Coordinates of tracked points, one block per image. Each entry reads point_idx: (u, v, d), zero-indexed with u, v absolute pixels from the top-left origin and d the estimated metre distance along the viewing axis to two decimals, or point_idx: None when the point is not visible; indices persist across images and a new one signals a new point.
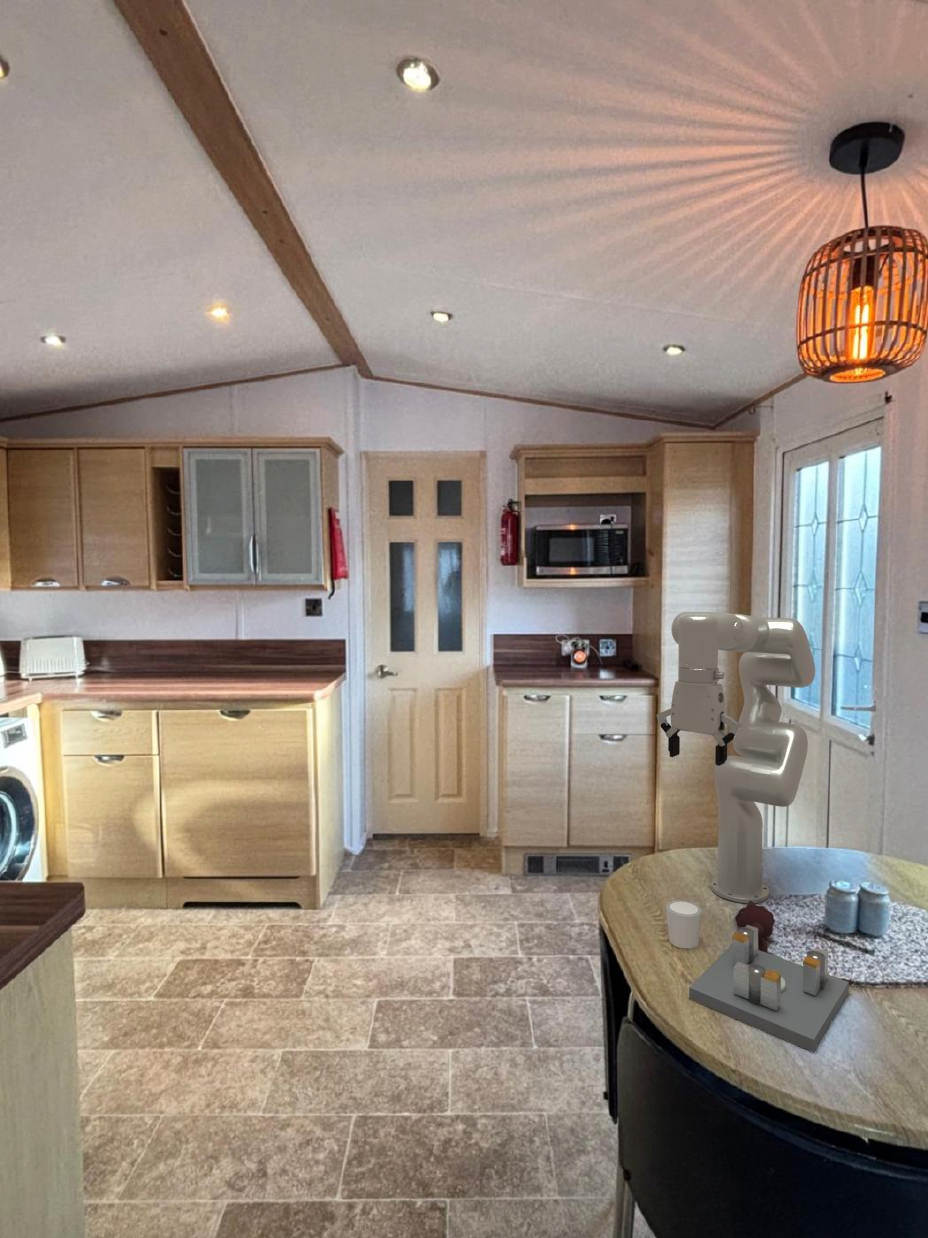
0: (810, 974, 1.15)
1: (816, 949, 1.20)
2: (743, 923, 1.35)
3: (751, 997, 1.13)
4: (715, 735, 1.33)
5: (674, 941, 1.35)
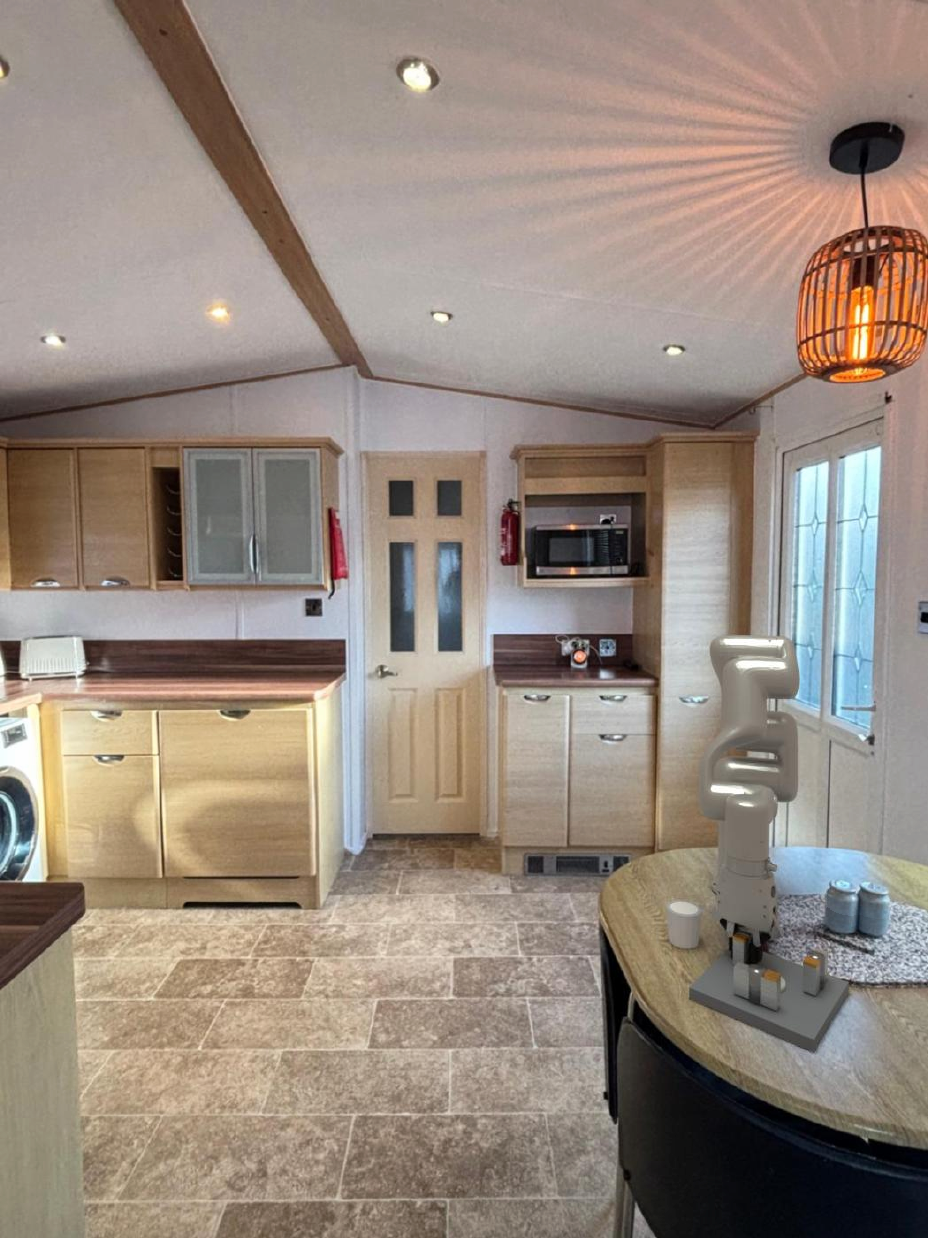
0: (810, 974, 1.15)
1: (816, 949, 1.20)
2: None
3: (751, 997, 1.13)
4: (755, 933, 1.23)
5: (674, 941, 1.35)
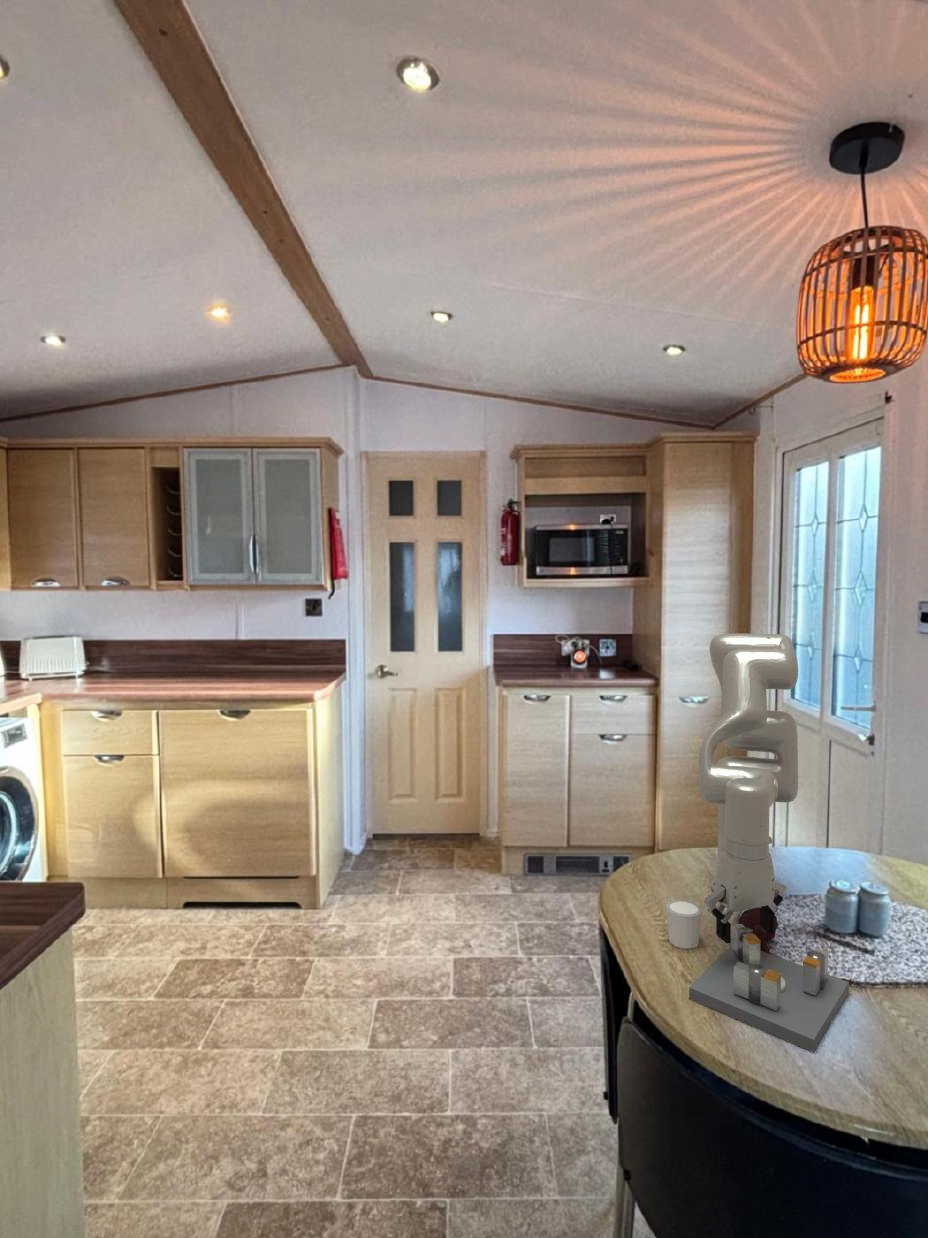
0: (810, 974, 1.15)
1: (816, 949, 1.20)
2: (746, 925, 1.34)
3: (751, 997, 1.13)
4: (770, 904, 1.26)
5: (674, 941, 1.35)
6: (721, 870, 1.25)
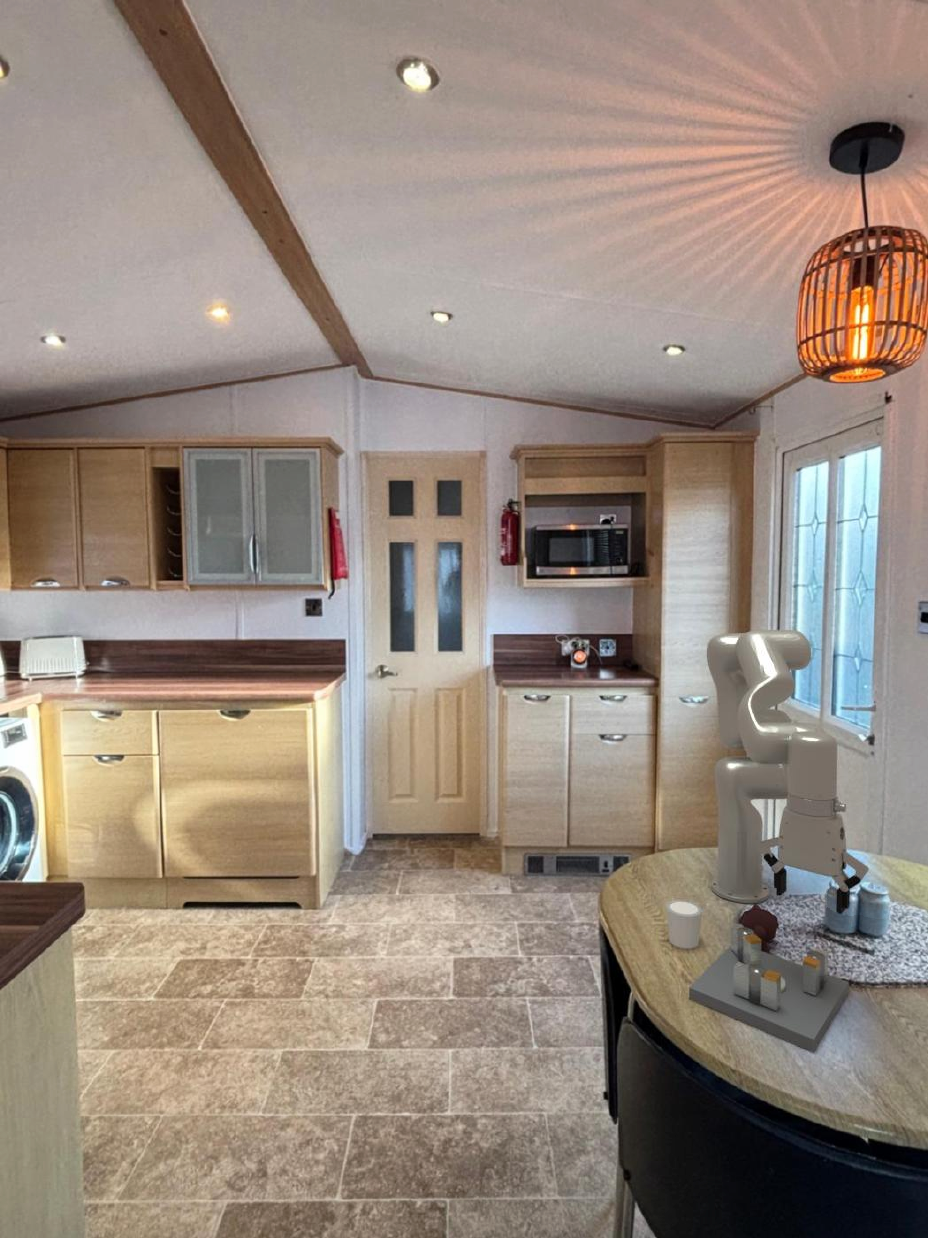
0: (810, 974, 1.15)
1: (816, 949, 1.20)
2: (746, 926, 1.34)
3: (751, 997, 1.13)
4: (836, 878, 1.13)
5: (674, 941, 1.35)
6: None
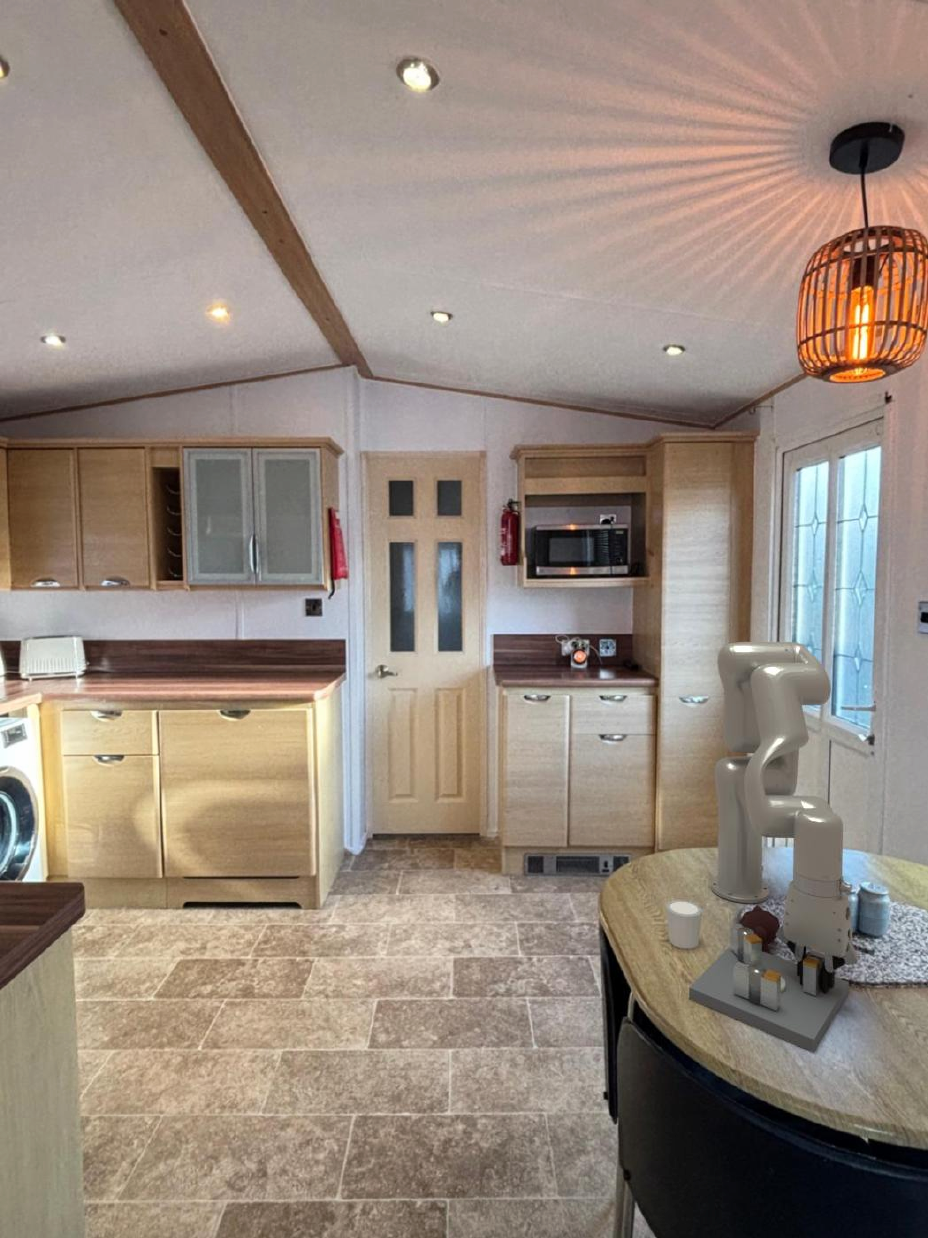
0: (810, 974, 1.15)
1: None
2: (747, 927, 1.34)
3: (751, 997, 1.13)
4: (828, 958, 1.15)
5: (674, 941, 1.35)
6: None
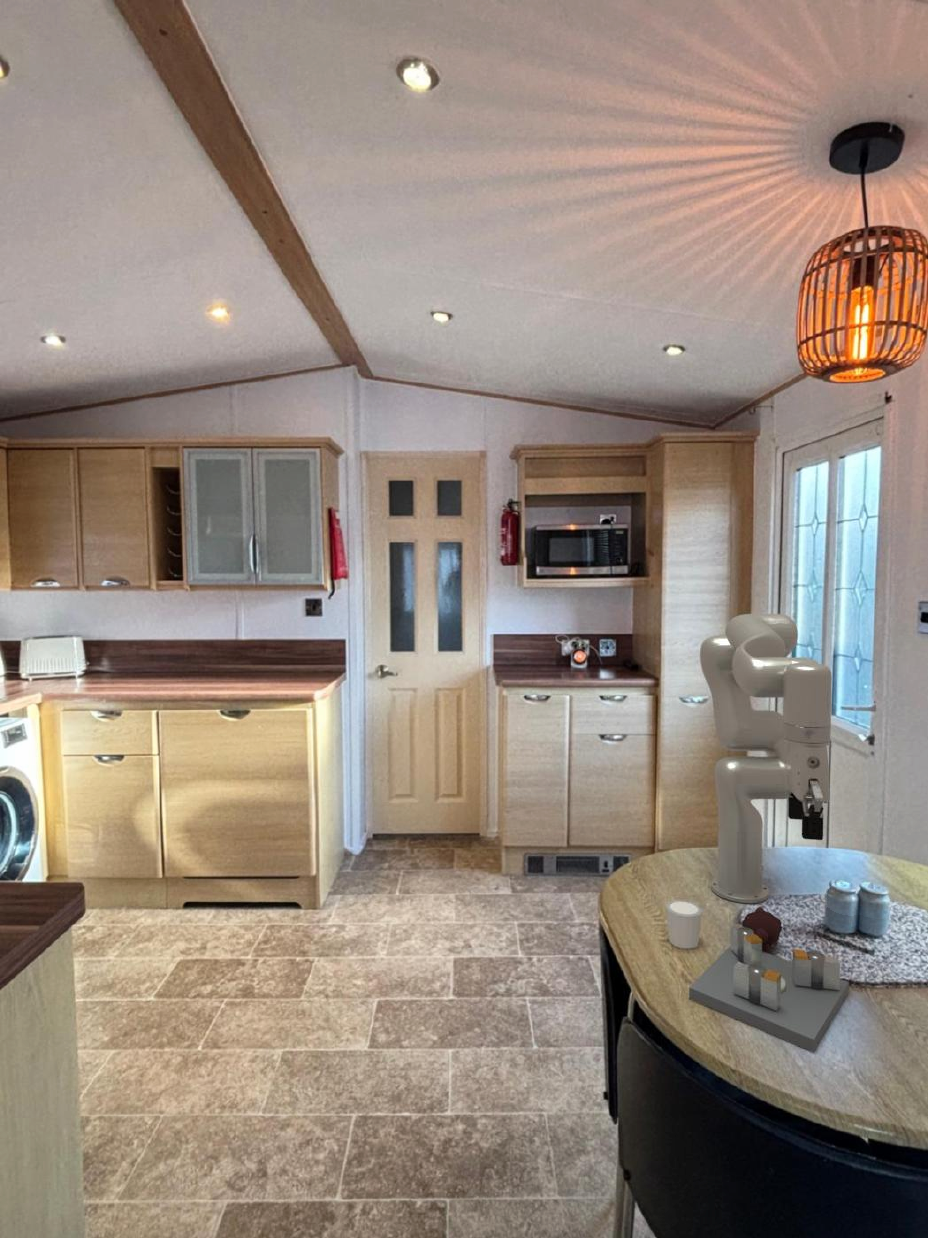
0: (794, 963, 1.18)
1: (833, 957, 1.17)
2: None
3: (751, 997, 1.13)
4: (803, 803, 1.16)
5: (674, 941, 1.35)
6: None
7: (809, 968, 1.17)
